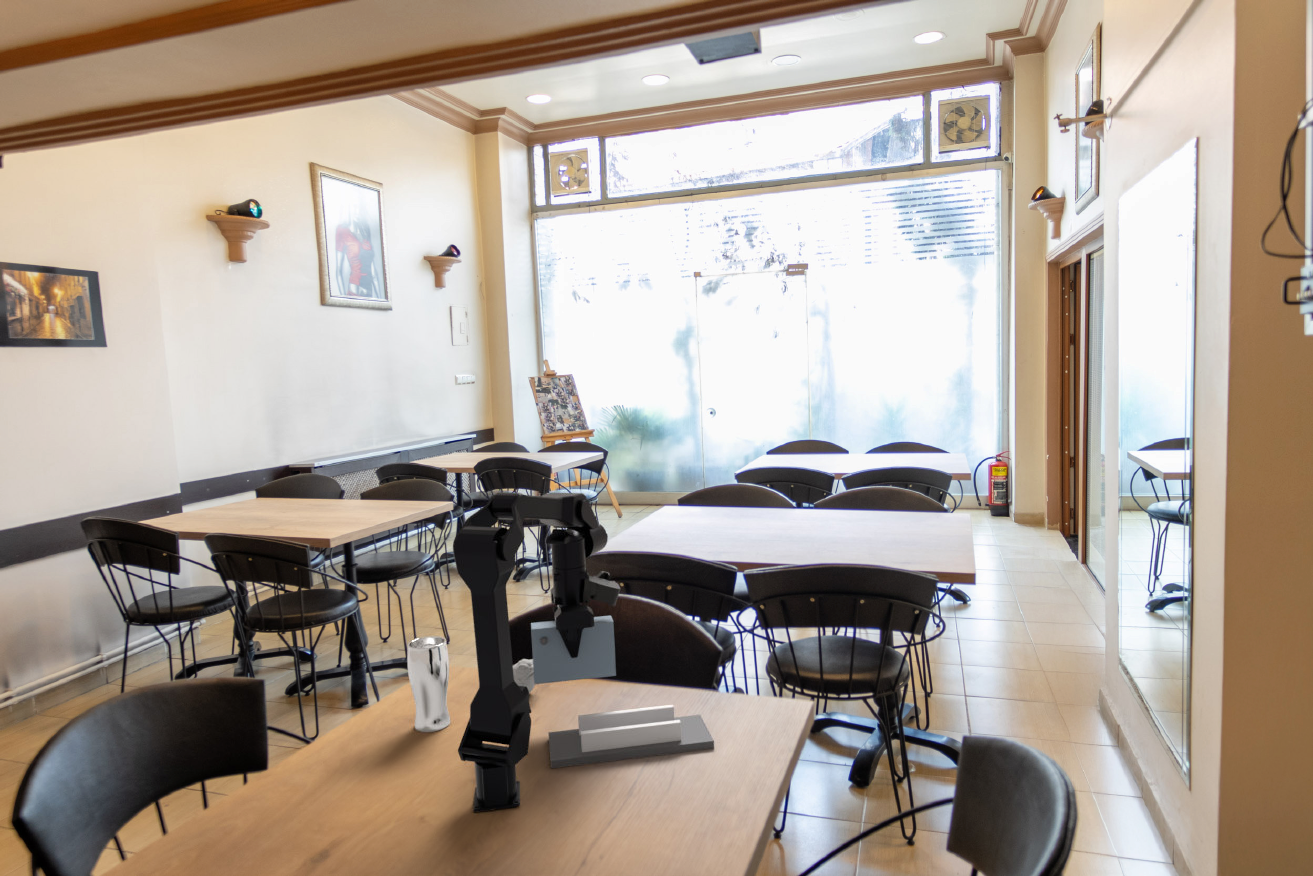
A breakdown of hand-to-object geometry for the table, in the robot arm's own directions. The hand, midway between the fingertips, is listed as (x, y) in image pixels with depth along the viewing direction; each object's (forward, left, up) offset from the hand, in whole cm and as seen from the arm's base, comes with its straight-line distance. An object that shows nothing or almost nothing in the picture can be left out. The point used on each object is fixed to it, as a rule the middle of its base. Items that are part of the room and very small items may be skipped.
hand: (573, 653), depth 139 cm
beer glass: (+6, +25, -13) cm, 29 cm away
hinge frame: (-10, -8, -12) cm, 18 cm away
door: (0, 0, -4) cm, 4 cm away
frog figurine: (+15, +9, -13) cm, 21 cm away
